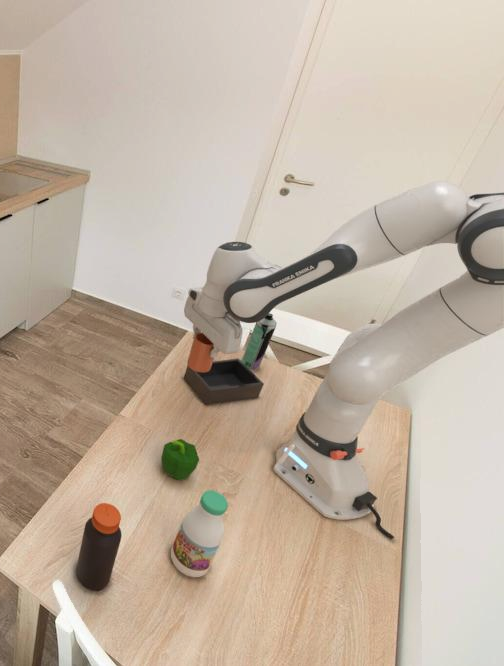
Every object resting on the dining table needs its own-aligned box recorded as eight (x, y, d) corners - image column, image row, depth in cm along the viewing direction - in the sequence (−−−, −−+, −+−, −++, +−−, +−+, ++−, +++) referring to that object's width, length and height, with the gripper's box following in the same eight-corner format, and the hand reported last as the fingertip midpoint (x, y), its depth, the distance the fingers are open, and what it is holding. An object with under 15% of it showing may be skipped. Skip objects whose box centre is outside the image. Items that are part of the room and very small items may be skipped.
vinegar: (69, 566, 97) (80, 505, 86) (97, 554, 99) (112, 493, 88) (87, 597, 92) (101, 537, 81) (116, 584, 94) (134, 523, 83)
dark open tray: (258, 397, 142) (264, 383, 139) (205, 405, 139) (210, 390, 136) (232, 372, 152) (238, 358, 149) (183, 378, 149) (187, 364, 146)
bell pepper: (197, 470, 119) (208, 442, 113) (185, 490, 113) (195, 462, 108) (166, 453, 123) (174, 425, 117) (152, 472, 118) (161, 444, 112)
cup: (215, 371, 129) (224, 343, 124) (194, 373, 128) (203, 346, 123) (202, 357, 134) (210, 331, 129) (182, 360, 133) (190, 333, 128)
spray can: (260, 372, 152) (282, 320, 141) (242, 370, 153) (262, 318, 142) (256, 362, 157) (277, 311, 146) (238, 360, 158) (258, 308, 147)
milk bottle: (178, 536, 103) (202, 476, 92) (213, 558, 99) (243, 497, 88) (163, 562, 98) (187, 501, 87) (200, 586, 94) (229, 526, 83)
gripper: (255, 323, 112) (238, 369, 120) (206, 284, 129) (194, 326, 136) (231, 326, 111) (216, 372, 119) (185, 286, 128) (174, 329, 135)
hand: (204, 347), depth 128 cm, fingers closed on cup, 6 cm apart
